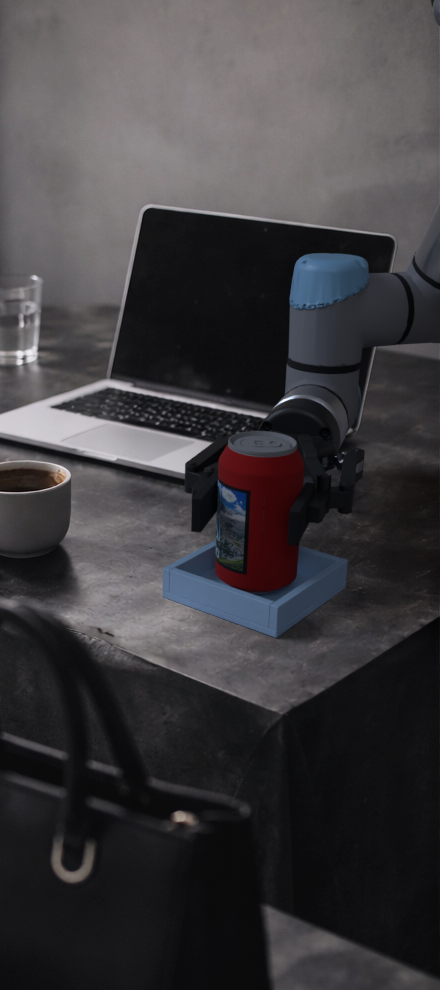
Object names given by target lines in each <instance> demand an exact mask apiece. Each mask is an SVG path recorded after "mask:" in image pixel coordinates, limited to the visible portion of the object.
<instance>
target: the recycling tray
mask: <svg viewBox="0 0 440 990" xmlns="http://www.w3.org/2000/svg"><path fill="white" fill-rule="evenodd" d="M215 554H216V539H215V540H213V541H211V542H209V543H208V544H206V545H204V546H202V547H199V548H198V549H197V550H194V551H192V552H191V553H189V554H187V555H185V556H183V557H182V558H180V559H177V560H176V561H174V562H172V563H170V564H168V565H166V566H164V567H163V568H162V598H164V599H167V600H170V601H172V602H176V603H178V604H181V605H184V606H187V607H188V608H189V607H190V608H192V609H195V610H197V611H200V612H203V613H206V614H208V615H212V616H214V617H216V618H219V619H223V620H225V621H228V622H231V623H233V624H236V625H239V626H241V627H244V628H247V629H250V630H253V631H256V632H258V633H261V634H263V635H266V636H269V637H272V638H274V639H277V638H278V637H280V636H281V635H283V634H284V633H285V632H286V631H288V630H290V629H291V628H292V627H294V626H295V625H296V624H298V623H299V622H301V621H302V620H303V619H305V618H306V617H308V616H309V615H310V614H312V613H313V612H314V611H316V610H317V609H319V608H320V607H321V606H322V605H324V604H326V603H327V602H329V601H330V600H332V598H334V597H335V596H336V595H338V594H339V593H341V592H342V591H344V590H345V589H346V588H347V575H348V564H349V560H348V559H347V558H342V557H340V556H335V555H332V554H329V553H326V552H321V551H319V550H315V549H312V548H309V547H305V546H304V545H303V546H302V545H299V555H298V567H297V576H296V578H295V580H294V581H293V582H292V583H291V584H289V585H287V586H285V587H283V588H281V589H279V590H277V591H275V592H271V593H265V594H252V593H248V592H245V591H242V590H239V589H236V588H233V587H230V586H229V585H228V584H226V583H224V582H223V581H222V580H220V579H219V578H218V576H217V575H216V572H215Z"/></svg>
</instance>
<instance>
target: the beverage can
mask: <svg viewBox="0 0 440 990" xmlns="http://www.w3.org/2000/svg"><path fill="white" fill-rule="evenodd" d="M303 483H304V461H303V458H302V456H301V454H300V452H299V450H298V448H297V442H296V440H295V439H293V438H292V437H290V436H287V435H284V434H281V433H276V432H268V431H258V430H247V431H242V432H237V433H234V434H232V435H230V438H229V440H228V444H227V446H226V448H225V449H224V451H223V453H222V454H221V456H220V458H219V467H218V489H217V512H216V518H215V519H216V520H215V521H216V522H215V523H216V524H215V527H216V528H215V540H216V554H215V572H216V575H217V576H218V578H219V579H220V580H222V581H223V582H224V583H226V584H228V585H229V586H230V587H233V588H236V589H239V590H242V591H245V592H248V593H252V594H265V593H271V592H275V591H277V590H279V589H281V588H283V587H285V586H287V585H289V584H291V583H292V582H293V581H294V580H295V578H296V576H297V567H298V555H299V546H300V543H299V544H298V546H292V545H287V544H288V528H289V512H290V510H291V508H292V506H293V504H294V502H295V501H296V499H297V497H298V495H299V494H300V492H301V490H302V488H303Z"/></svg>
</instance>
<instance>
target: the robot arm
mask: <svg viewBox="0 0 440 990" xmlns="http://www.w3.org/2000/svg"><path fill="white" fill-rule="evenodd" d="M430 3H431V4H430V5H431V9H432V15H433V18H434V21H435V23H436V24H437V25H438V26H439V27H440V0H430ZM288 302H289V303H288V304H289V324H288V325H289V326H288V327H289V329H288V331H289V332H288V355H287V363H286V370H285V372H286V373H285V388H284V396H282V397H281V398H280V400H279V401H278V402H277V403H276V404H275V405H274V406H273V408H272V409H271V411H270V412H269V413H268V414H267V415H266V417H265V418H264V419H263V421H262V422H261V424H260V425H259V427H258V429H257V431H268V432H276V433H281V434H284V435H287V436H290V437H292V438H293V439H295V440H296V442H297V448H298V450H299V452H300V454H301V456H302V458H303V461H304V483H303V488H302V490H301V492H300V494H299V495H298V497H297V499H296V501H295V502H294V504H293V506H292V508H291V510H290V512H289V528H288V544H287V545H292V546H298V544H299V545H300V542H301V540H302V538H303V536H304V534H305V532H306V530H307V528H308V526H309V524H310V523H311V524H321V523H322V522H323V521H324V519H325V516H326V515H327V514H328V513H329V512H330V510H331V509H332V510H333V509H337V512H338V513H339V514H342V515H350V514H352V513H353V507H354V499H355V498H354V496H355V487H356V483H357V482H359V481H360V480H361V479H362V478H363V476H364V465H365V454H366V451H365V449H363V448H358V447H356V448H352V449H350V450H349V451H346V450H343V451H341V453H339V451H340V448H341V446H342V444H343V442H344V440H345V439H346V436H347V435H348V432H349V431H350V430H351V429H352V427H353V426H354V425H355V423H356V420H357V419H358V417H359V414H360V409H361V402H362V393H361V392H362V391H361V388H360V385H359V382H360V381H359V380H360V370H361V362H362V355H363V354H362V353H363V349H366V348H375V347H376V348H377V347H390V346H401V345H402V346H403V345H417V344H418V345H419V344H440V200H439V201H438V204H437V206H436V208H435V210H434V213H433V215H432V216H431V218H430V222H429V223H428V225H427V228H426V230H425V232H424V234H423V236H422V238H421V240H420V243H419V245H418V247H417V249H416V251H415V252H414V255H413V256H412V258H411V260H410V262H409V265H408V267H407V269H406V270H405V271H397V272H369V262H368V261H367V259H366V258H364V257H362V256H359V255H354V254H349V253H348V254H347V253H331V252H330V253H329V252H328V253H327V252H317V253H307V254H304V255H303V256H301V257H299V258H298V259H297V260H296V262H295V264H294V268H293V274H292V278H291V286H290V293H289V301H288ZM230 437H231V435H230V433H228V432H218V433H217V434H216V437H215V440H214V441H213V442H212V443H210V444H209V445H207V446H206V447H205V448H204V449H202V450H201V451H200V452H198V453H197V454H195V455H194V456H192V457H191V458H190V459H189V460H188V461H186V462H185V463H184V492H185V493H186V494H189V495H191V518H190V519H191V520H190V521H191V524H190V525H191V526H190V531H191V532H193V533H202V531H203V530H204V529H205V528H206V526H207V525H208V524H209V522H210V521H211V520H212V518H213V517H214V516H215V515H216V514H217V489H218V467H219V458H220V456H221V454H222V453H223V451H224V449H225V448H226V446H227V444H228V440H229V438H230ZM334 468H336V470H337V471H338V472H339V484H338V485H339V486H332V476H333V474H331V473H330V474H328V473H326V472H328V471H332V470H333V469H334Z"/></svg>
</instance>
